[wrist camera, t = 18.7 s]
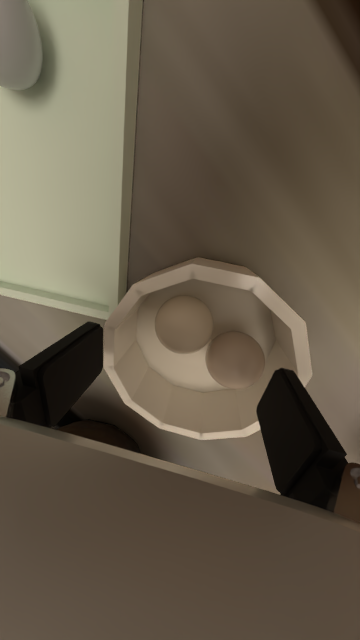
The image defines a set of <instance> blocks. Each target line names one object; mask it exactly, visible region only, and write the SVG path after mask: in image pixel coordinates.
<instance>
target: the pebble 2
mask: <svg viewBox="0 0 360 640" xmlns="http://www.w3.org/2000/svg"><path fill="white" fill-rule="evenodd" d="M213 329H214V320H213V316H212V313H211V311H210V309H209V308H208V306H207V305H206V304H205V303H204V302H203V301H202V300H200V299H198V298H196V297H194V296H190V295H179V296H175V297H172V298H170V299H168V300H167V301H166V302H164V303H163V304H162V306H161V307H160V308H159V310H158V312H157V314H156V317H155V331H156V335H157V337H158V339H159V341H160V342H161V343H162V345H163V346H164V347H166V348H167V349H168V350H170V351H172V352H174V353H178V354H191V353H194V352H197V351H199V350H200V349H202V348H203V347H204V346H205V345H206V344H207V343H208V342H209V340H210V338H211V336H212V334H213Z"/></svg>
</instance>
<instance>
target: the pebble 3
mask: <svg viewBox="0 0 360 640" xmlns="http://www.w3.org/2000/svg"><path fill="white" fill-rule="evenodd" d="M205 361H206V366H207V369H208V372H209V373H210V375H211V377H212V378H213V379H214V380H215V381H216V382H217V383H219V384H220V385H222V386H224V387H226V388H229V389H245V388H248V387H250V386H252V385H253V384H255V383H256V382H257V381H258V380H259V379H260V377H261V376H262V374H263V371H264V368H265V356H264V353H263V350H262V348H261V346H260V345H259V343H258V342H257V341H256V340H255V339H254V338H252V337H251V336H250V335H248V334H246V333H243V332H239V331H228V332H224V333H222V334H220V335H218V336H216V337H215V338H214V339H213V340H212V341H211V342H210V344H209V346H208V348H207V351H206V356H205Z"/></svg>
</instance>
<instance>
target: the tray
mask: <svg viewBox="0 0 360 640" xmlns="http://www.w3.org/2000/svg"><path fill="white" fill-rule="evenodd" d="M28 3H29V5H30V7H31V9H32V12H33V14H34V17H35V20H36V23H37V26H38V29H39V33H40V37H41V42H42V51H43V64H42V70H41V74H40V76H39V78H38V80H37V81H36V83H35V84H34V85H33V86H31V87H30V88H28V89H25V90H11V89H7V88H3V87H1V86H0V295H3V296H8V297H12V298H16V299H20V300H24V301H29V302H33V303H37V304H41V305H45V306H50V307H54V308H58V309H62V310H66V311H71V312H75V313H79V314H83V315H88V316H92V317H96V318H100V319H104V320H108V318H109V317H110V315H111V314H112V313H113V311H114V310H115V309H116V307H117V306H118V304H119V303H120V302H121V300H122V299H123V298H124V296H125V295H126V290H127V273H128V255H129V237H130V220H131V202H132V184H133V167H134V149H135V132H136V114H137V96H138V79H139V61H140V44H141V26H142V8H143V0H28Z"/></svg>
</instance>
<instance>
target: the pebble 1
mask: <svg viewBox="0 0 360 640" xmlns="http://www.w3.org/2000/svg"><path fill="white" fill-rule="evenodd" d="M42 64H43V51H42V42H41V37H40V33H39V29H38V26H37V23H36V20H35V17H34V14H33V12H32V9H31V7H30V5H29V3H28V0H0V86H1V87H3V88H7V89H11V90H25V89H28V88H30V87H31V86H33V85H34V84H35V83H36V81H37V80H38V78H39V76H40V74H41V70H42Z"/></svg>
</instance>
